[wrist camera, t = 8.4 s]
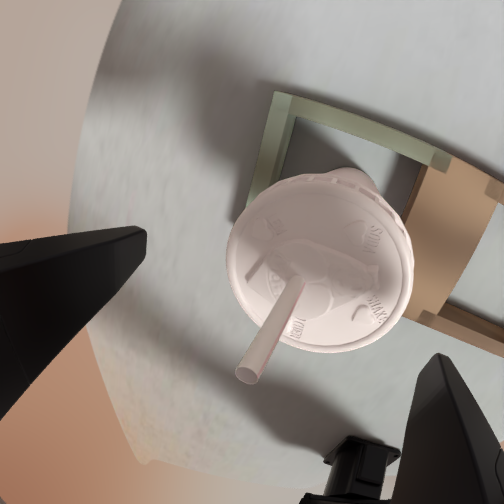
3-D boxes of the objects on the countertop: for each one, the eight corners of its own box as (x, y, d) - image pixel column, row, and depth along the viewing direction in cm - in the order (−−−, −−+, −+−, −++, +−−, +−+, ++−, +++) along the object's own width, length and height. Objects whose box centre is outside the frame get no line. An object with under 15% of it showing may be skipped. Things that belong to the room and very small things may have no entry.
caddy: (513, 346, 17) (519, 364, 15) (248, 235, 22) (236, 247, 20) (580, 236, 12) (594, 248, 10) (285, 92, 17) (274, 90, 15)
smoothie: (285, 152, 18) (107, 249, 7) (394, 137, 16) (433, 221, 4) (305, 251, 21) (195, 433, 9) (405, 245, 18) (407, 461, 6)
